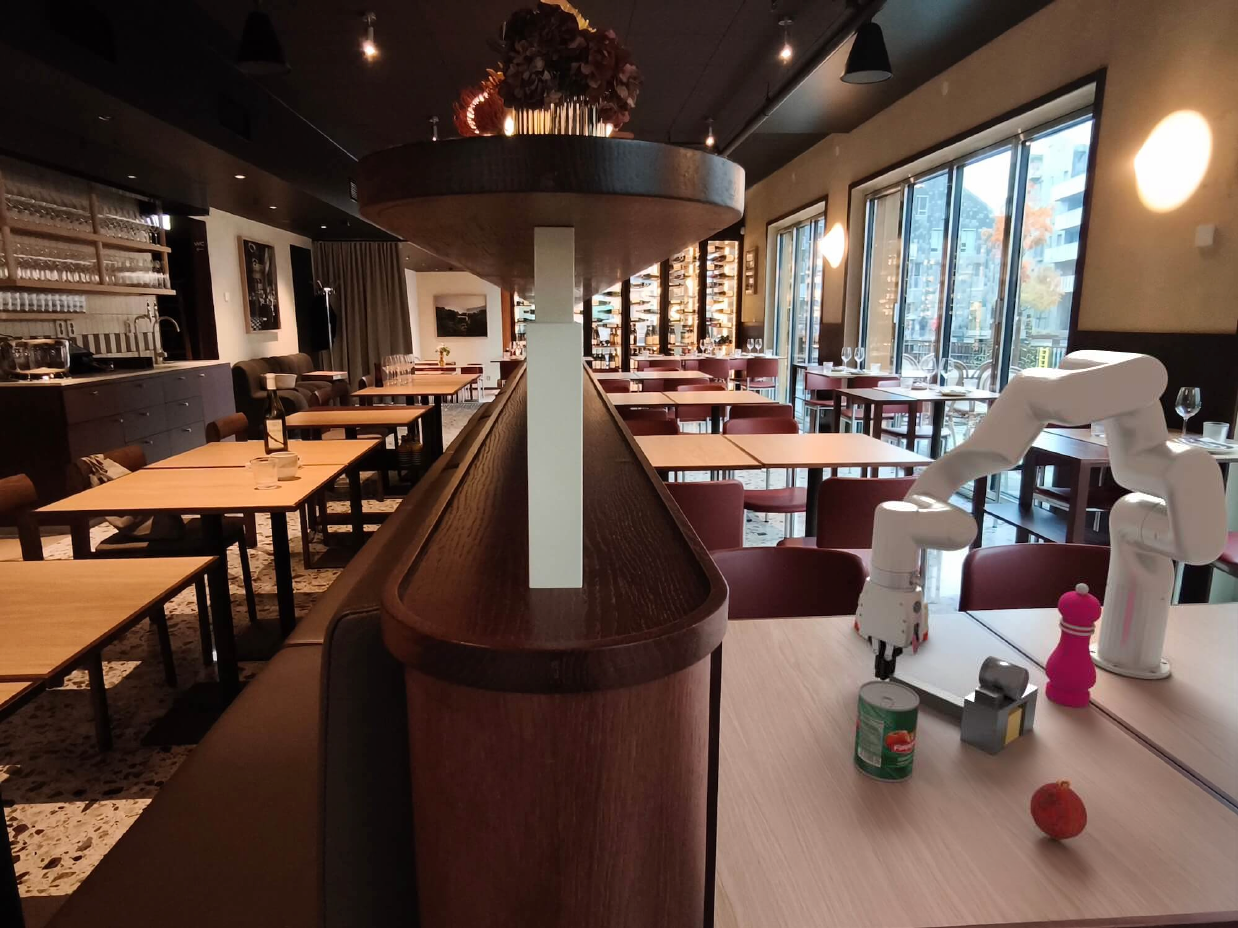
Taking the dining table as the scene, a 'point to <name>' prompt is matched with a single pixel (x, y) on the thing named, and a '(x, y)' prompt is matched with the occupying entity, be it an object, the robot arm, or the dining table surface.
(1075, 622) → the pepper mill
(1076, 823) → the red rounded piece
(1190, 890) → the dining table surface
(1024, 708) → the block
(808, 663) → the dining table surface
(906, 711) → the canned tomato
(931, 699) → the yellow tipped gray bar
